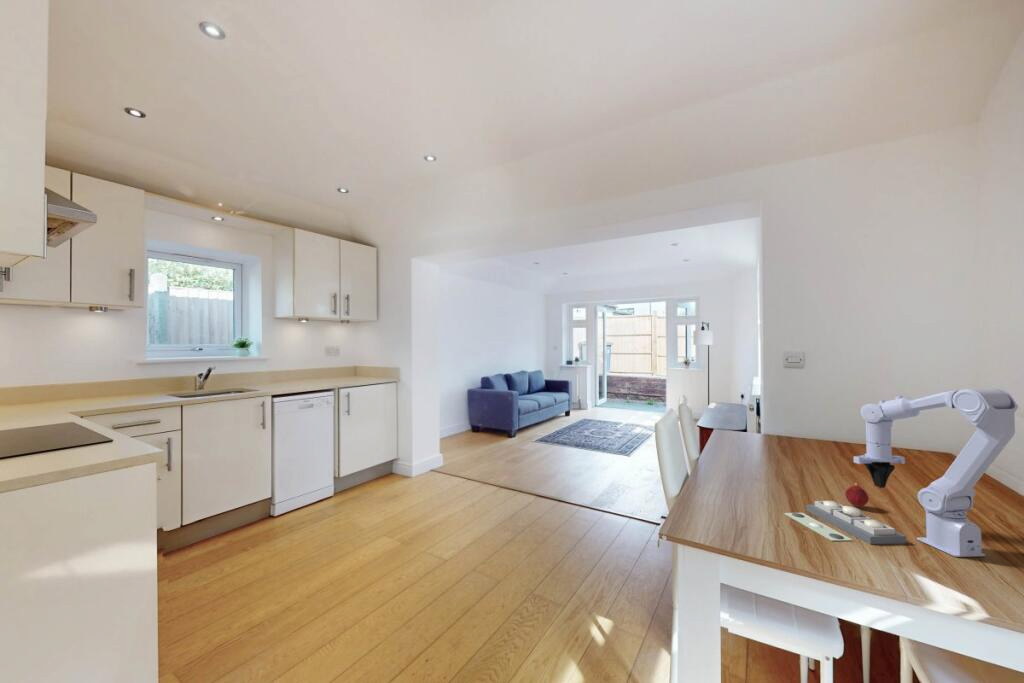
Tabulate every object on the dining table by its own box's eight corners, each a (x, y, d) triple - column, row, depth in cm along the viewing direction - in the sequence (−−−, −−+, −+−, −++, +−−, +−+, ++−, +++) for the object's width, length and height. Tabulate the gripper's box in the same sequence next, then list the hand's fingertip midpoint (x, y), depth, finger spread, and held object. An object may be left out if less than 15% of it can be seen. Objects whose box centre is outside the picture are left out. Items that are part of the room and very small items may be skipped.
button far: (843, 511, 122) (843, 505, 122) (830, 511, 122) (830, 505, 122) (832, 506, 126) (832, 500, 126) (820, 506, 126) (820, 500, 126)
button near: (887, 532, 108) (887, 525, 108) (873, 532, 108) (873, 525, 108) (874, 525, 112) (873, 519, 112) (860, 525, 112) (860, 519, 112)
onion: (873, 511, 127) (872, 487, 127) (852, 510, 128) (852, 485, 128) (861, 504, 133) (860, 481, 133) (841, 503, 134) (841, 480, 134)
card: (853, 540, 108) (853, 539, 108) (832, 541, 107) (831, 539, 107) (802, 513, 126) (802, 512, 126) (784, 513, 125) (784, 512, 125)
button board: (906, 543, 106) (905, 530, 106) (870, 544, 106) (870, 531, 106) (836, 510, 128) (835, 499, 128) (806, 510, 128) (806, 500, 128)
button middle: (864, 517, 115) (863, 511, 115) (851, 517, 115) (850, 511, 115) (851, 511, 119) (851, 505, 119) (839, 511, 119) (839, 506, 119)
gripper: (888, 439, 125) (889, 482, 125) (844, 439, 125) (845, 482, 124) (911, 444, 118) (912, 489, 118) (865, 445, 118) (866, 490, 117)
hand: (879, 486), depth 120 cm, fingers closed
